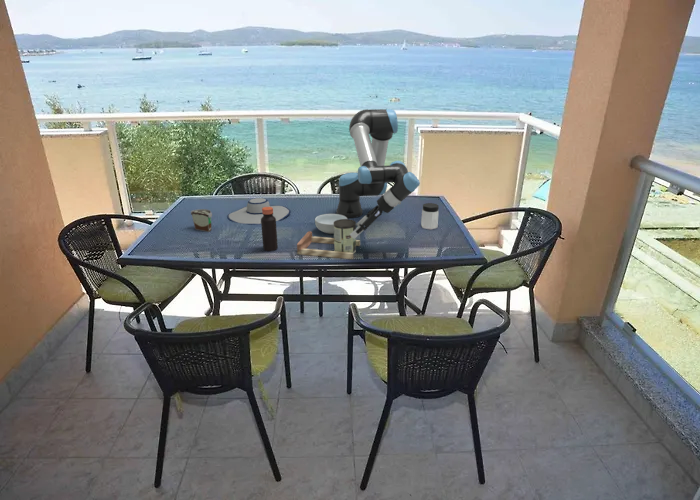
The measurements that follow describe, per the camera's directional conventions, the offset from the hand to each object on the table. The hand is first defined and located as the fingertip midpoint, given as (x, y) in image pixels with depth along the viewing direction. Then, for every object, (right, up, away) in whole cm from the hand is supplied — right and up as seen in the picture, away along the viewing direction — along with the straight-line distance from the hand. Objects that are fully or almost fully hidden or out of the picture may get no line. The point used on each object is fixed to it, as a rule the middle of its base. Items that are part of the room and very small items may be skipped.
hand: (355, 231), depth 204 cm
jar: (+40, +4, +36) cm, 54 cm away
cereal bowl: (-12, +1, +30) cm, 32 cm away
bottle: (-40, -8, +9) cm, 42 cm away
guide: (-12, -8, +8) cm, 16 cm away
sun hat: (-55, +12, +57) cm, 80 cm away
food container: (-79, +3, +34) cm, 86 cm away
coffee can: (-5, -9, +6) cm, 12 cm away
